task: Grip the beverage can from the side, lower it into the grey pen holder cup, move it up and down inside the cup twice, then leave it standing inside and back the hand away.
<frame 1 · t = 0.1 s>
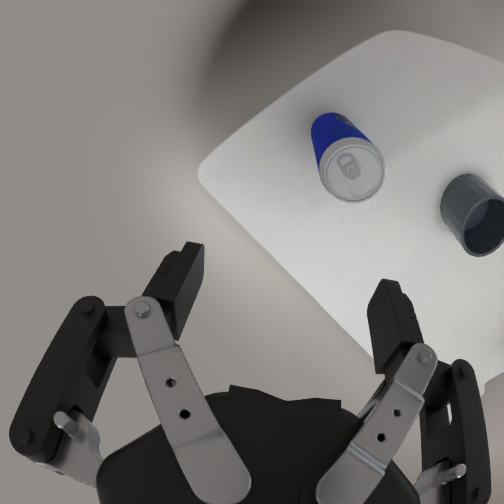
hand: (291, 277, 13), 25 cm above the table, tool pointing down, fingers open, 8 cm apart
grey pen holder cup: (465, 202, 33), on the table
beverage can: (331, 132, 32), on the table
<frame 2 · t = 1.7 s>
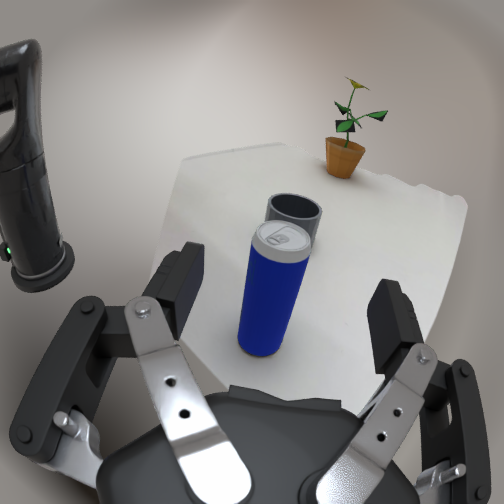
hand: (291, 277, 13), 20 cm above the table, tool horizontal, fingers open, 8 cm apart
grey pen holder cup: (287, 240, 51), on the table
beverage can: (258, 341, 33), on the table
potted plant: (339, 174, 85), on the table
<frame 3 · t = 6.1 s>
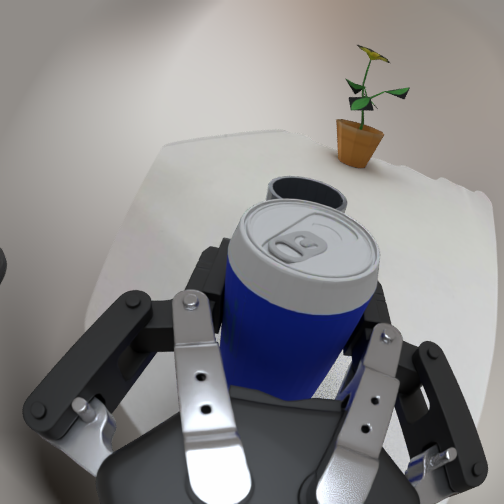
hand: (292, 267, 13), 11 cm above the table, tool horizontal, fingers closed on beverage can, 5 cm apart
grey pen holder cup: (296, 243, 36), on the table
beverage can: (252, 416, 18), on the table, touching gripper
potted plant: (352, 163, 69), on the table
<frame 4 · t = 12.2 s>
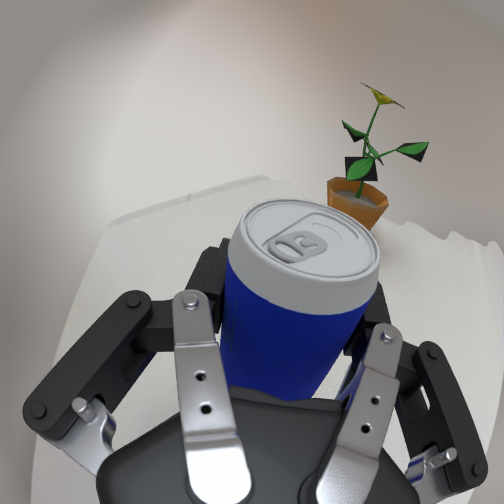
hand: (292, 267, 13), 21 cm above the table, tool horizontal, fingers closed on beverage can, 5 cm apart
beverage can: (252, 416, 18), point 10 cm above the table, touching gripper
potted plant: (345, 235, 58), on the table
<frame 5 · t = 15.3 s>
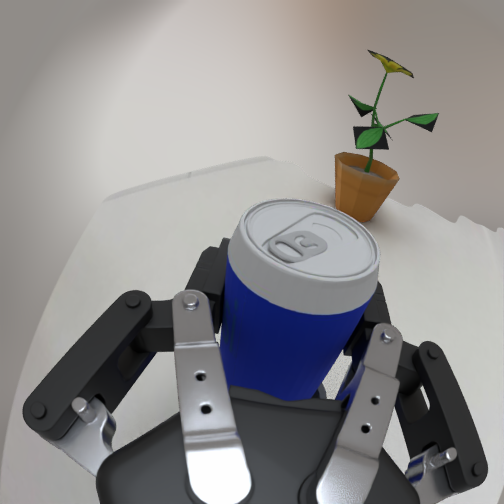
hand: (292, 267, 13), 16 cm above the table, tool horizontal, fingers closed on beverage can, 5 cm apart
beverage can: (252, 416, 18), point 4 cm above the table, touching gripper
potted plant: (354, 213, 54), on the table
when the fingers open (12 cm above the table, at t = 18.3 s): beverage can stays where it is, resting on grey pen holder cup.
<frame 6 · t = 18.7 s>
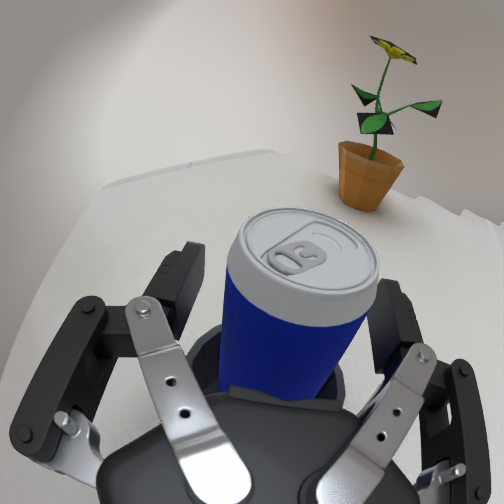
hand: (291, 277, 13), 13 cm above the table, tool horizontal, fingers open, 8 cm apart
grey pen holder cup: (250, 421, 19), on the table
beverage can: (252, 420, 18), point 1 cm above the table, touching grey pen holder cup
potted plant: (358, 203, 52), on the table
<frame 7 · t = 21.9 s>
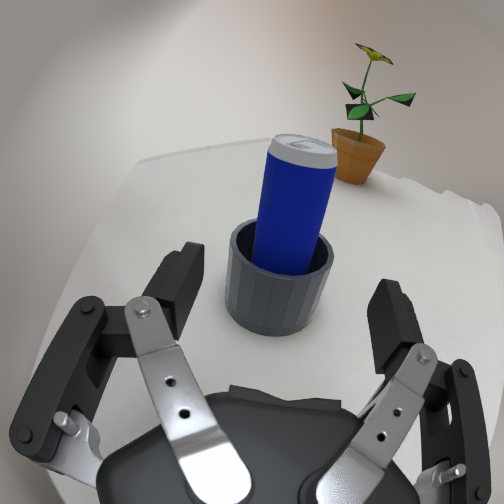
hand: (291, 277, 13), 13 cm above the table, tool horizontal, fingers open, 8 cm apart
grey pen holder cup: (270, 300, 29), on the table
beverage can: (272, 296, 29), point 1 cm above the table, touching grey pen holder cup
potted plant: (349, 178, 63), on the table
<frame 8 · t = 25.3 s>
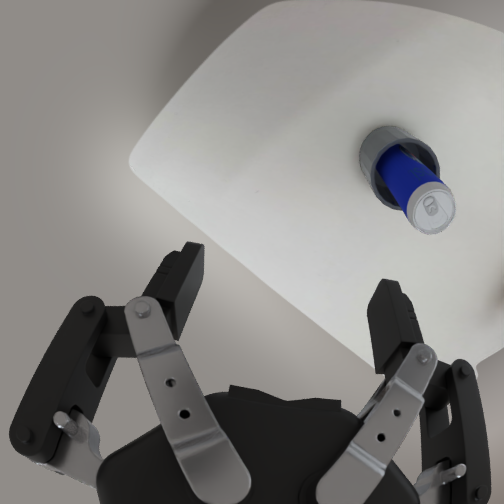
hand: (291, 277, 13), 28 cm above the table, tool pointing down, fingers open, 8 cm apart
grey pen holder cup: (390, 157, 35), on the table
beverage can: (390, 159, 34), point 1 cm above the table, touching grey pen holder cup
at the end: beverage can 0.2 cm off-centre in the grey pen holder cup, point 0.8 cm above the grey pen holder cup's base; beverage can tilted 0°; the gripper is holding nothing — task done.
